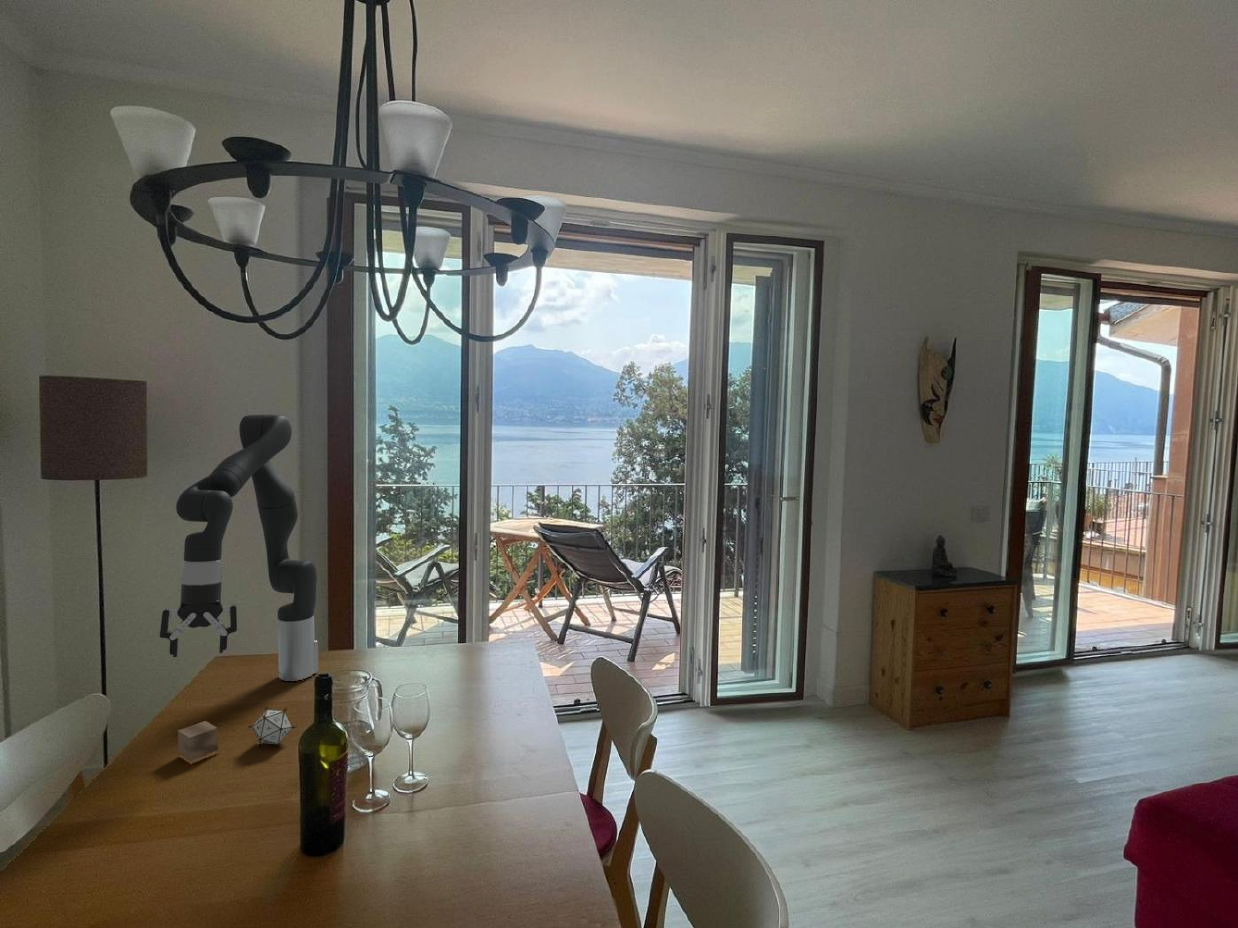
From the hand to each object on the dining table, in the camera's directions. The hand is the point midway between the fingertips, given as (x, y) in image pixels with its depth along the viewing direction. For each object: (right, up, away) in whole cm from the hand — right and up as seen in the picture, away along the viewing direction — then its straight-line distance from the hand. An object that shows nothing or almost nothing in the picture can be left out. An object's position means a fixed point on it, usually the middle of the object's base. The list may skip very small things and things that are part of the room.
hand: (198, 654), depth 144 cm
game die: (+14, -22, +4) cm, 26 cm away
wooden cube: (+1, -22, -1) cm, 22 cm away
